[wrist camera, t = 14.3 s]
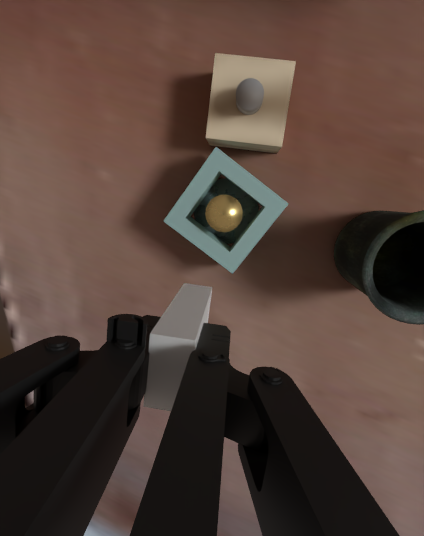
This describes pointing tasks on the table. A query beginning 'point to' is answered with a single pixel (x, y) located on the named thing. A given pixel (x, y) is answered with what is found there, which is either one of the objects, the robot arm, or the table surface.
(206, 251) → the teal square ring
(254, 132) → the stand
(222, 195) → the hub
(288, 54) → the table surface
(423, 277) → the mug
